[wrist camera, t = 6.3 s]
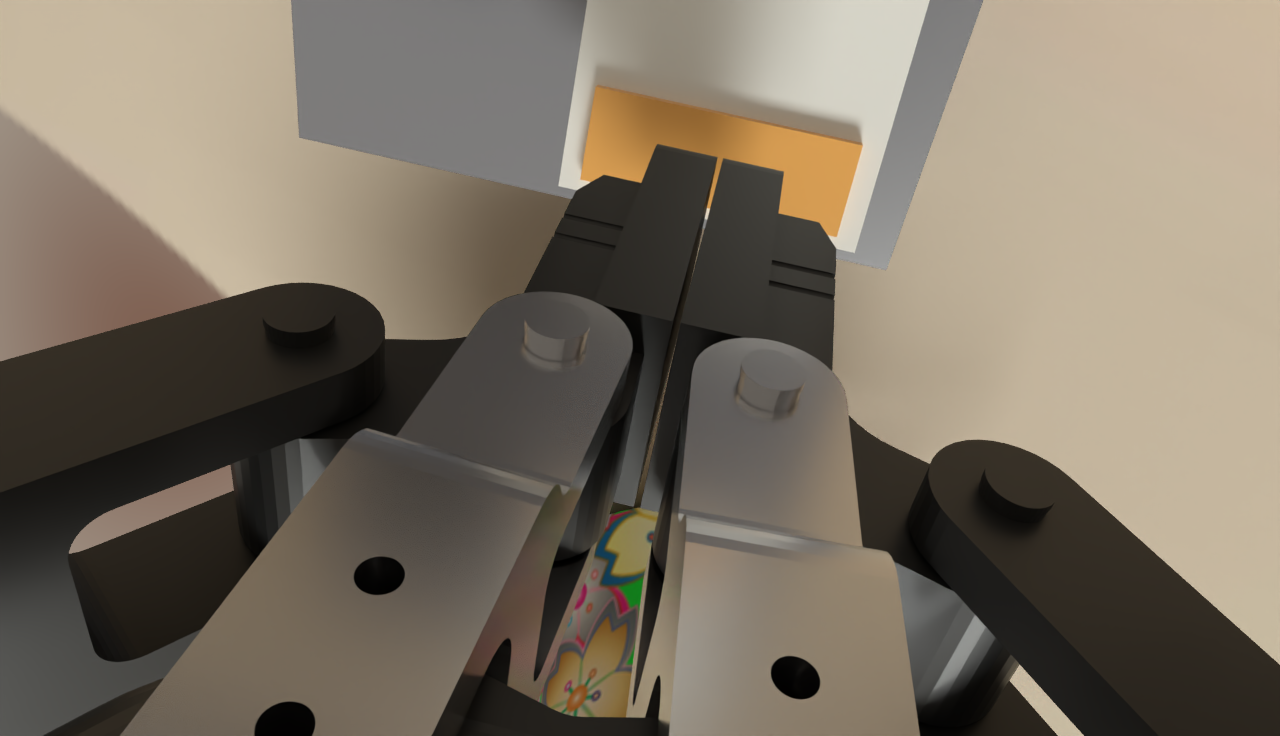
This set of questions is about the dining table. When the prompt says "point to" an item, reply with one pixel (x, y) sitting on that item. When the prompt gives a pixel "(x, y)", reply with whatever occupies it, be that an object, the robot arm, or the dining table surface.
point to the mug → (604, 623)
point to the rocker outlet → (746, 94)
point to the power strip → (540, 92)
